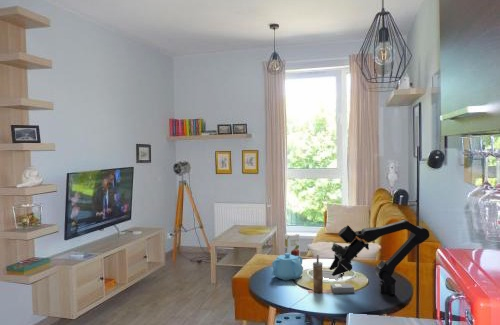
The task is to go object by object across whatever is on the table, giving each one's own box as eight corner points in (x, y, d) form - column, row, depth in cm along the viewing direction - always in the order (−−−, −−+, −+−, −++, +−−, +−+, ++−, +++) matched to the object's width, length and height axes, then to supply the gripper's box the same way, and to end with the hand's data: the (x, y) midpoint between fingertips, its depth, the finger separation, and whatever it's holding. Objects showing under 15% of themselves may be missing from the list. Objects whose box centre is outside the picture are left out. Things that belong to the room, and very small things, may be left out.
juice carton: (283, 263, 246) (282, 233, 246) (295, 261, 250) (294, 232, 249) (289, 266, 239) (289, 235, 239) (301, 264, 243) (301, 234, 242)
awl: (323, 290, 193) (322, 254, 193) (322, 293, 189) (321, 256, 189) (314, 289, 195) (313, 253, 194) (313, 292, 190) (312, 255, 190)
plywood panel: (350, 290, 196) (350, 288, 196) (361, 302, 180) (361, 300, 180) (306, 292, 195) (306, 289, 195) (313, 304, 179) (313, 301, 179)
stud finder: (350, 288, 196) (350, 282, 196) (354, 292, 190) (354, 286, 190) (330, 288, 195) (330, 283, 195) (333, 293, 189) (333, 287, 189)
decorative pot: (279, 272, 229) (279, 248, 229) (306, 275, 222) (305, 251, 222) (268, 280, 215) (268, 255, 214) (296, 283, 208) (296, 258, 207)
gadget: (319, 270, 232) (319, 264, 232) (344, 273, 226) (344, 267, 226) (308, 282, 211) (308, 275, 211) (336, 285, 205) (336, 278, 205)
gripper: (338, 234, 200) (317, 255, 201) (344, 242, 181) (321, 266, 182) (354, 249, 199) (333, 271, 200) (362, 259, 181) (338, 283, 182)
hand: (331, 272), depth 191 cm, fingers open, 9 cm apart
